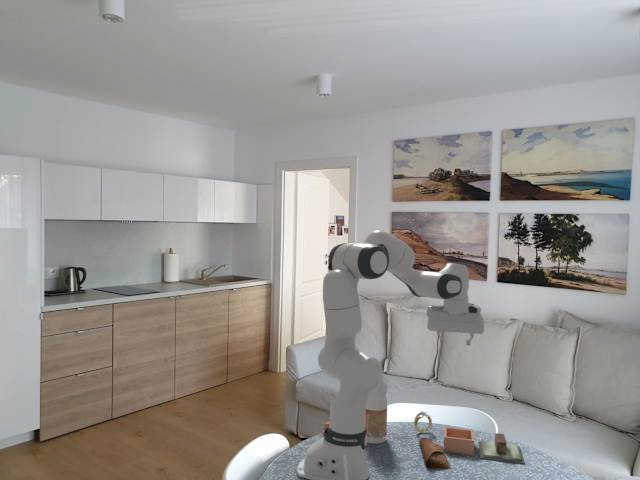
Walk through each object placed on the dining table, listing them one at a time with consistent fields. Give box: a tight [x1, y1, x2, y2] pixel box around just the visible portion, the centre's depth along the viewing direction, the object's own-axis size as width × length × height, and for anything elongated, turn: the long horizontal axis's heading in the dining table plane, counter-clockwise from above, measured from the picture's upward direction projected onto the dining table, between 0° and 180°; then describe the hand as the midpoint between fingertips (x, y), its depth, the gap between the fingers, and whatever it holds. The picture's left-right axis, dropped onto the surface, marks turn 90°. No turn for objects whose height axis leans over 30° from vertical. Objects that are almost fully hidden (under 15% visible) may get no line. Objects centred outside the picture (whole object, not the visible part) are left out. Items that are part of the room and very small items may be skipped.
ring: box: [413, 411, 433, 434], centre depth 189 cm, size 7×3×8 cm, turn 101°
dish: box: [443, 426, 475, 456], centre depth 176 cm, size 10×10×5 cm
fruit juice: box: [365, 361, 388, 445], centre depth 181 cm, size 9×9×28 cm
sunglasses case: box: [418, 437, 451, 470], centre depth 168 cm, size 18×7×7 cm
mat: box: [477, 441, 526, 465], centre depth 172 cm, size 14×14×1 cm
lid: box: [480, 432, 521, 461], centre depth 172 cm, size 12×12×5 cm
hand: (455, 344), depth 183 cm, fingers open, 8 cm apart
